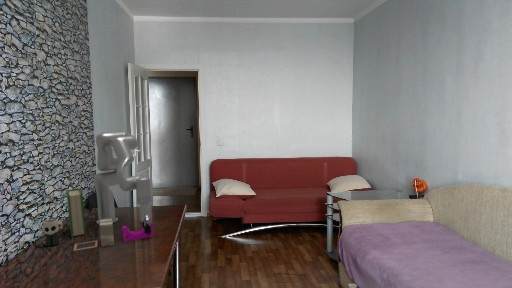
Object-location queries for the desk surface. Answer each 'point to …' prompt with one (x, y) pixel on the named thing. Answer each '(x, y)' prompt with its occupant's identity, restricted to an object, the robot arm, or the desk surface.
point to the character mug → (51, 231)
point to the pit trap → (85, 245)
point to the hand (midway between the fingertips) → (146, 230)
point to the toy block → (136, 233)
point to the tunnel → (106, 232)
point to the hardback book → (76, 212)
